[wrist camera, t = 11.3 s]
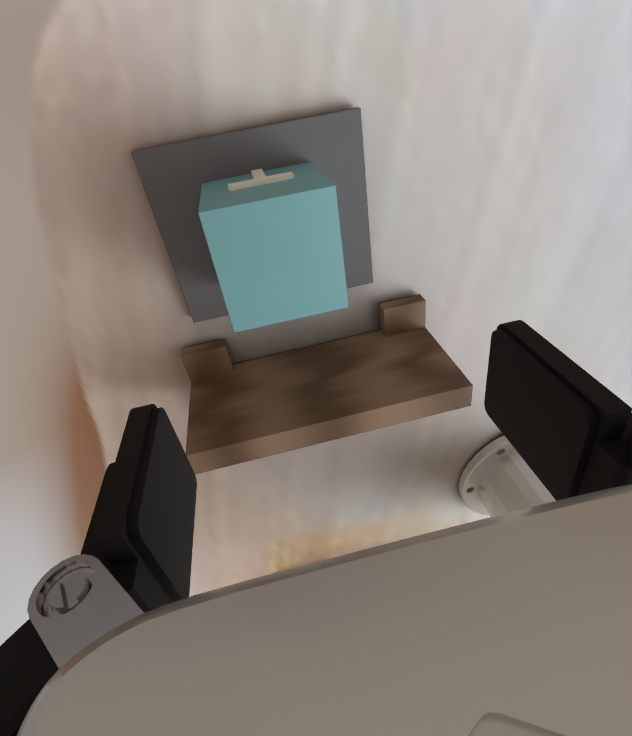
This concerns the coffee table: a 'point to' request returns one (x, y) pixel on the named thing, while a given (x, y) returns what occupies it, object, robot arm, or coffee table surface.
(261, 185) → the letter cube
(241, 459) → the screen
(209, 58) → the coffee table surface
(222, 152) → the mat
